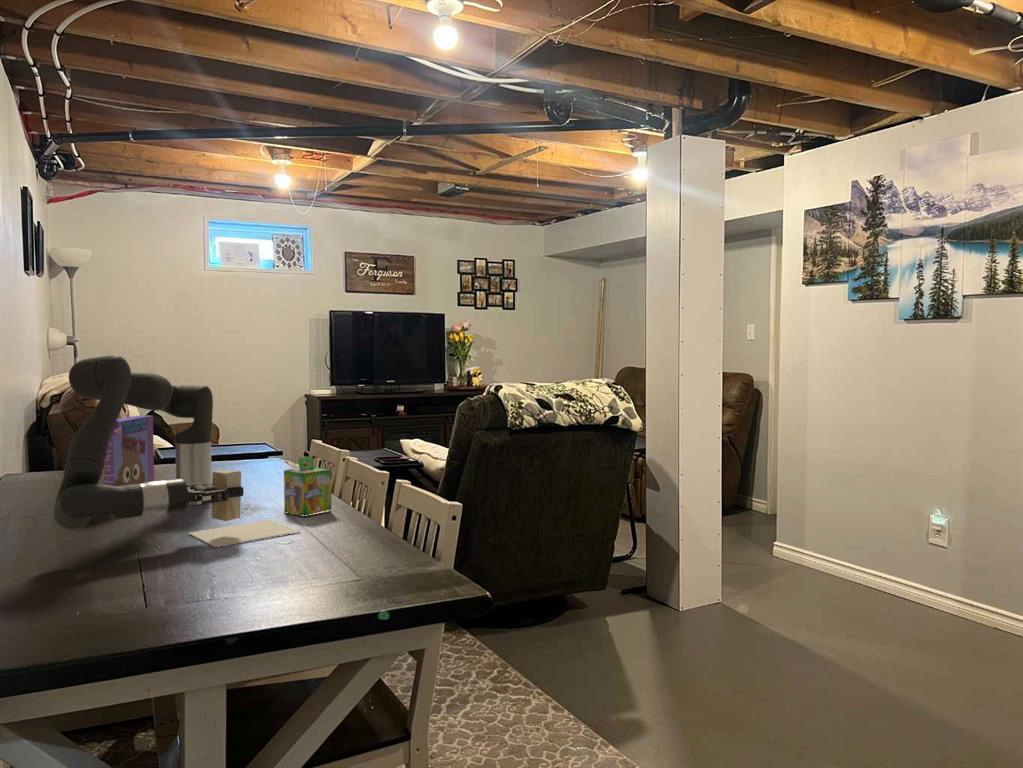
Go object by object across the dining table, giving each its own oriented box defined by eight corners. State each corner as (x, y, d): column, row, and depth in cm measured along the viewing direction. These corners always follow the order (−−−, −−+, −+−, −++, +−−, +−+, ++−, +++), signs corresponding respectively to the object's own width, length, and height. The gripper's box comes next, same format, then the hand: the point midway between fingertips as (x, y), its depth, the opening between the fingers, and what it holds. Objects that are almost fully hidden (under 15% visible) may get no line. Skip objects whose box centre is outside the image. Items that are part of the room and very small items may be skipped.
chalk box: (304, 518, 191) (304, 461, 191) (283, 513, 197) (282, 457, 196) (333, 512, 199) (332, 457, 198) (311, 507, 204) (310, 454, 204)
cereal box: (122, 508, 202) (120, 420, 201) (105, 508, 202) (103, 420, 201) (154, 495, 219) (152, 415, 218) (138, 495, 219) (136, 415, 218)
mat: (188, 534, 174) (188, 532, 174) (270, 521, 187) (270, 519, 187) (214, 548, 162) (214, 546, 162) (299, 533, 176) (299, 531, 176)
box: (210, 518, 171) (210, 471, 171) (225, 515, 175) (225, 468, 174) (226, 521, 169) (226, 473, 168) (241, 517, 172) (241, 470, 172)
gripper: (172, 485, 156) (250, 477, 168) (150, 476, 167) (225, 469, 178) (172, 520, 157) (250, 510, 168) (150, 509, 167) (225, 500, 179)
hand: (236, 489), depth 173 cm, fingers closed on box, 6 cm apart
